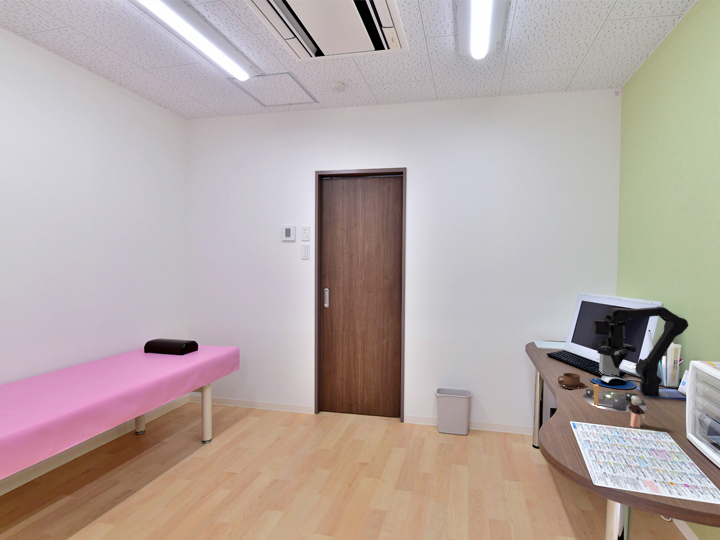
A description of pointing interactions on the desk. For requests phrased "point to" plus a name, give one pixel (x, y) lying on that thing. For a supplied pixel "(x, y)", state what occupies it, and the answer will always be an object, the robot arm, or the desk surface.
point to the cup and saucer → (571, 381)
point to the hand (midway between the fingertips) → (616, 367)
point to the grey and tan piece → (617, 402)
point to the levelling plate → (591, 401)
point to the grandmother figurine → (636, 411)
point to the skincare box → (607, 365)
